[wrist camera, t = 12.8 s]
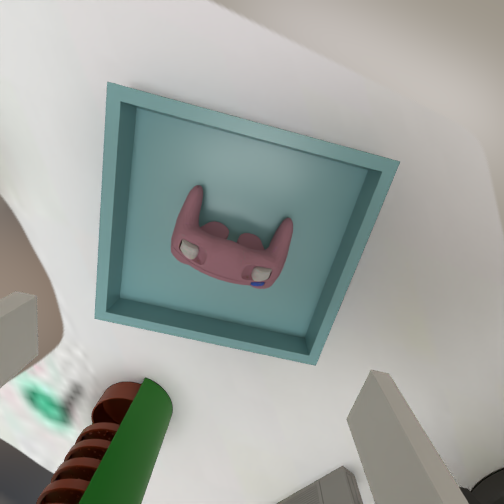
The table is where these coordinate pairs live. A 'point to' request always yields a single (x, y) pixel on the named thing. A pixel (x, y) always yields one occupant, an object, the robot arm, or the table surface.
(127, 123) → the tray
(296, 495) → the cassette player
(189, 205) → the video game controller
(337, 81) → the table surface
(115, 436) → the motor
